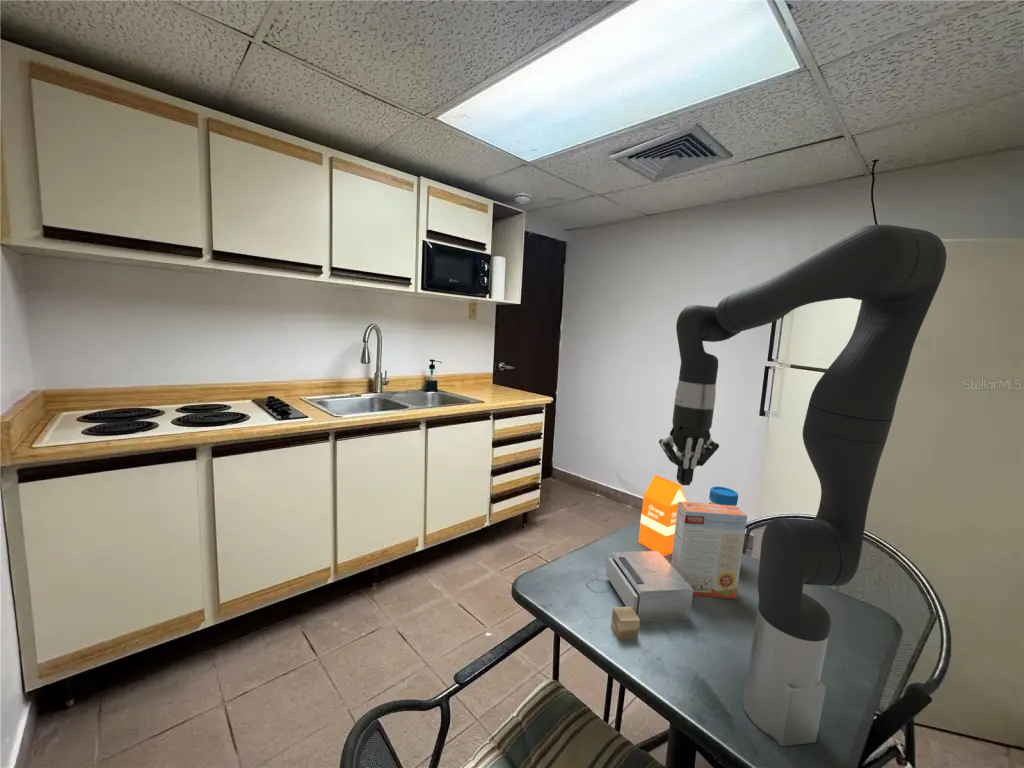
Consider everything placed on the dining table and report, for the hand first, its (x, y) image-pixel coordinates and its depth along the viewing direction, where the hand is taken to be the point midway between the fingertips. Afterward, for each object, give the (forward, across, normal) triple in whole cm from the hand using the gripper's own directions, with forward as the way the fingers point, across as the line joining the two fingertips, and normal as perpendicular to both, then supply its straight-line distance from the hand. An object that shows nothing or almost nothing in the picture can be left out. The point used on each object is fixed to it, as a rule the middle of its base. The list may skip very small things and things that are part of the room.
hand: (683, 483), depth 87 cm
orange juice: (+29, +12, +26) cm, 41 cm away
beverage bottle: (+29, +24, +18) cm, 42 cm away
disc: (+27, -6, +4) cm, 28 cm away
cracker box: (+29, +12, +6) cm, 32 cm away
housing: (+29, -3, +4) cm, 29 cm away
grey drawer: (+28, -4, +4) cm, 28 cm away
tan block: (+29, -13, -6) cm, 32 cm away
